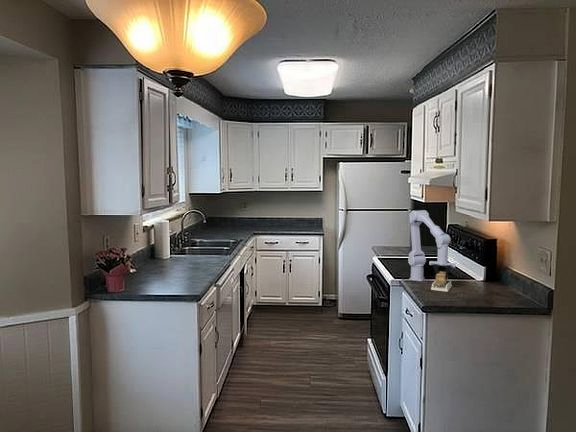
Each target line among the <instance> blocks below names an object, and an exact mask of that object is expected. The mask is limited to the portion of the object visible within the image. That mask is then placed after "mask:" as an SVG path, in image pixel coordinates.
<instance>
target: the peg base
mask: <svg viewBox="0 0 576 432" xmlns="http://www.w3.org/2000/svg"><path fill="white" fill-rule="evenodd" d="M452 287H453V284H452V280H449V281H446V283H445V284H444V285H443V284H436V280H435V281H433V282H432V283H431V287H430V290H431V291H437V292H438V291H439V292H440V291H441V292H446V293H447V292H449V290H450V289H451V288H452Z"/></svg>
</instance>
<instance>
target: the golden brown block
mask: <svg viewBox="0 0 576 432" xmlns="http://www.w3.org/2000/svg"><path fill="white" fill-rule="evenodd" d="M448 278H449V276H448V277H447V279H446V271H445V270H444V271H442V270H440V271H438V274H437V275H436V274H435V281H436V284H443V285H444V284H445V283H446V282H448Z"/></svg>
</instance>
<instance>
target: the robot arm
mask: <svg viewBox="0 0 576 432" xmlns="http://www.w3.org/2000/svg"><path fill="white" fill-rule="evenodd" d="M408 216H409V225H410V226H409V227H410V238H411V239H410V240H411V241H410V242H411V251H410V252H409V253H408V260H407V262H408V264H409V266H410V277H409V278H408V281H416V282H422V281H423V280H425V277H424V265H425V264H426V262H427V258H426V256H425V252H424V251H423V250H422V247H421V246H422V245H421V233H420V225H421V224H422V223H424V224H425V225H426V226H427V227H428V228H429V231H430V234H431V236H433V237H434V239H435V243H436V247H437V260H436V261H435V260H434V261H433V260H430V261H429V262H428V263H429V265H430V266H432V268H433V270H434V272H435V276H436V275H437V274H438V273H439V272H440V271H439V269H440V266H442V267H445V272H446V279H447V277H448V278H449V273H450V270H451V269H452V268H456V266H457V265H456V263H453V262H449V260H448V257H449V244H450V243H451V239H452V238H451V236H450V235H449V234H447V233H445V232H444V231H443V229H441V227H440V226H438V225H436V224H435V223H434V221H433V220H432V219H431V218H430V214H429V212H428V211H427V210H425V209H422V210H411V212H410V213H409V215H408Z"/></svg>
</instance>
